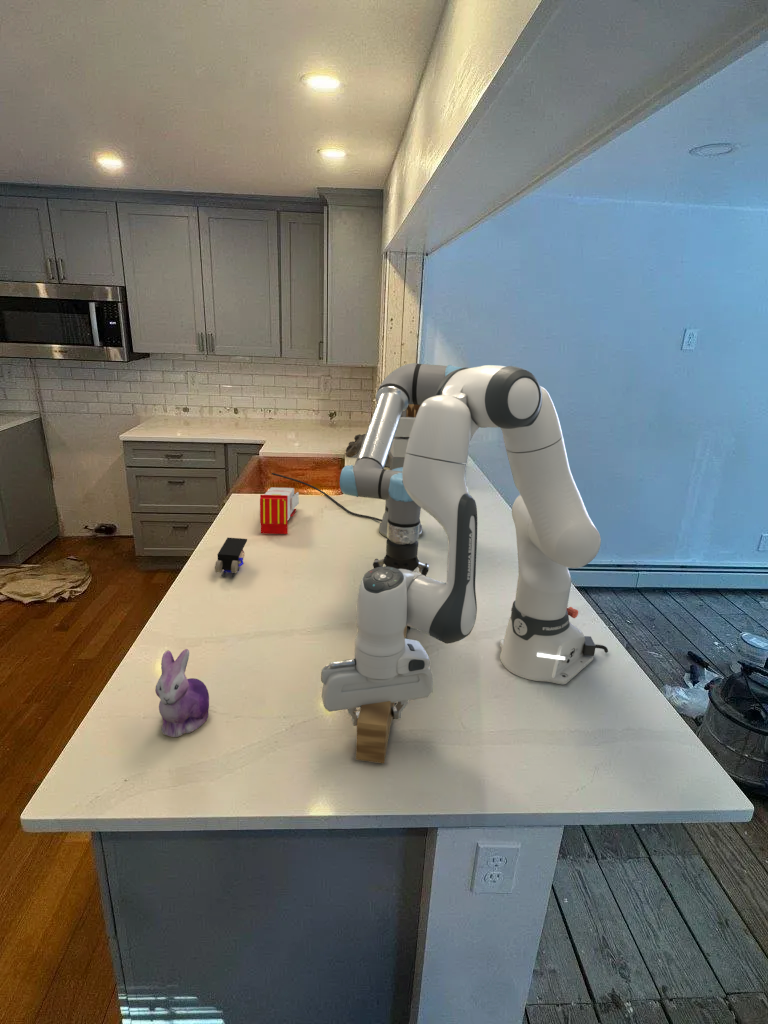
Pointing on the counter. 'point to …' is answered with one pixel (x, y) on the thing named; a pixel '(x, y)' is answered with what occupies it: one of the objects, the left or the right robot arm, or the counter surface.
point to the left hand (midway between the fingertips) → (397, 625)
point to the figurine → (180, 697)
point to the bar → (374, 730)
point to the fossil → (355, 445)
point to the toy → (277, 510)
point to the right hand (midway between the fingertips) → (376, 720)
